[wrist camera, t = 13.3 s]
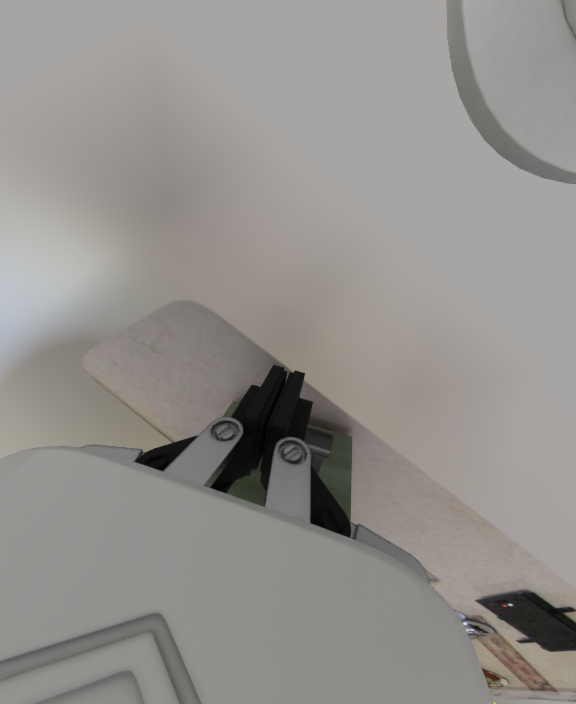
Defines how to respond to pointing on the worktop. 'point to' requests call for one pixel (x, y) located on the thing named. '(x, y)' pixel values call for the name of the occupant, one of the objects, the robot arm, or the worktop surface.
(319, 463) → the drawer
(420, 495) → the worktop surface
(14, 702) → the robot arm
